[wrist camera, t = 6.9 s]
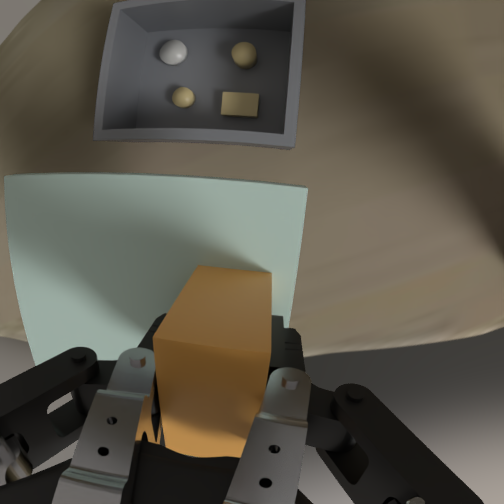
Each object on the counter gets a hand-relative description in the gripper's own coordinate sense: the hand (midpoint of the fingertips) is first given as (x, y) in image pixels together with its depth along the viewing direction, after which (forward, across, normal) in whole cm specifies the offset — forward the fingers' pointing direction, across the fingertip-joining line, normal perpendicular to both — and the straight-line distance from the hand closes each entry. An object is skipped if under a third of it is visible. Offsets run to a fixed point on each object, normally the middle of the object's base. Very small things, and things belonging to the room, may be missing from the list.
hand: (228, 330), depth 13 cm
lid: (+3, +5, 0) cm, 6 cm away
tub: (+17, +5, -14) cm, 23 cm away
